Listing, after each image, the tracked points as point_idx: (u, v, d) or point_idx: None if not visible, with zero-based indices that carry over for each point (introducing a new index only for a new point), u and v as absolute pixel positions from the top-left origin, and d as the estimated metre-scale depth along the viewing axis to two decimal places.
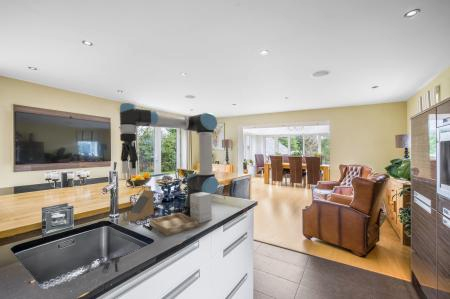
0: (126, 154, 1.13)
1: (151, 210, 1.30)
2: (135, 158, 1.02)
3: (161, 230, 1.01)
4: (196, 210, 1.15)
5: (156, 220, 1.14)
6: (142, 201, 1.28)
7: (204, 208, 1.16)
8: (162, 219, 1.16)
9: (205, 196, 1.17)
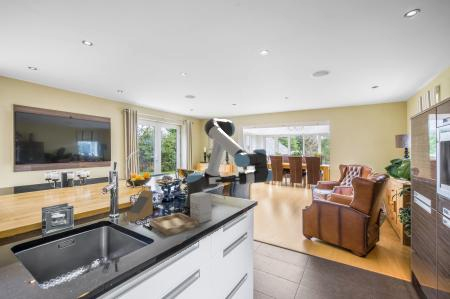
0: None
1: (150, 210, 1.30)
2: None
3: (161, 230, 1.01)
4: (196, 210, 1.15)
5: (156, 220, 1.14)
6: (141, 201, 1.28)
7: (204, 208, 1.16)
8: (162, 219, 1.16)
9: (205, 196, 1.17)
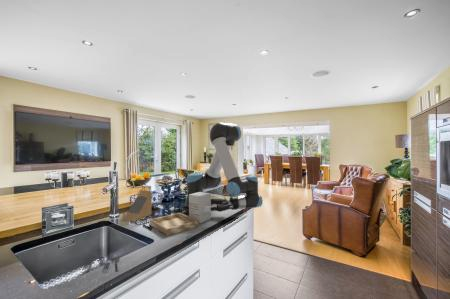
0: None
1: (149, 210, 1.30)
2: None
3: (161, 230, 1.01)
4: (196, 211, 1.15)
5: (156, 220, 1.14)
6: (140, 201, 1.28)
7: None
8: (162, 219, 1.16)
9: (205, 196, 1.17)
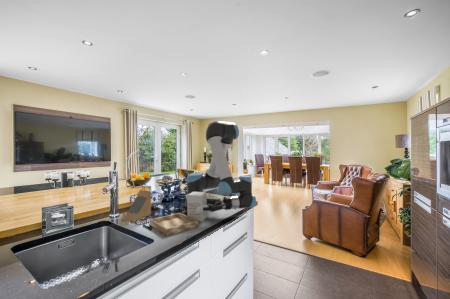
0: None
1: (148, 210, 1.31)
2: None
3: (161, 230, 1.01)
4: None
5: (156, 220, 1.14)
6: (140, 201, 1.28)
7: None
8: (162, 219, 1.16)
9: (204, 195, 1.19)
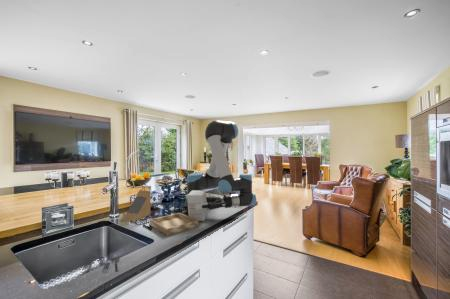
0: None
1: (148, 210, 1.31)
2: None
3: (161, 230, 1.01)
4: (198, 210, 1.15)
5: (156, 220, 1.14)
6: (139, 201, 1.28)
7: None
8: (162, 219, 1.16)
9: (204, 194, 1.18)
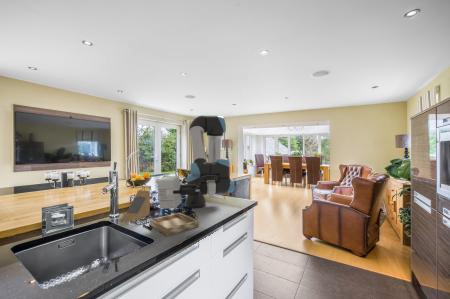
0: None
1: (147, 210, 1.31)
2: None
3: (161, 230, 1.01)
4: (169, 196, 1.06)
5: (156, 220, 1.14)
6: (139, 201, 1.28)
7: None
8: (162, 219, 1.16)
9: (176, 179, 1.09)
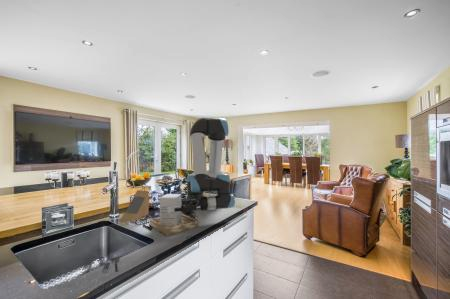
0: None
1: (146, 210, 1.31)
2: None
3: (161, 230, 1.01)
4: (171, 214, 1.06)
5: (156, 220, 1.14)
6: (138, 201, 1.28)
7: None
8: None
9: (178, 197, 1.10)
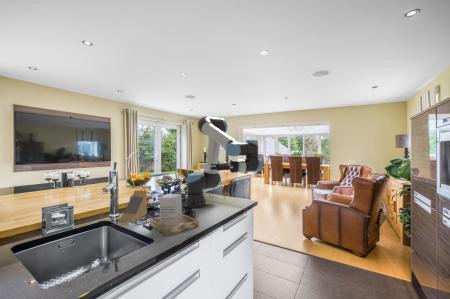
0: None
1: (144, 210, 1.31)
2: None
3: (161, 230, 1.01)
4: (171, 214, 1.06)
5: (156, 220, 1.14)
6: (136, 201, 1.27)
7: (178, 210, 1.10)
8: None
9: (178, 197, 1.10)
